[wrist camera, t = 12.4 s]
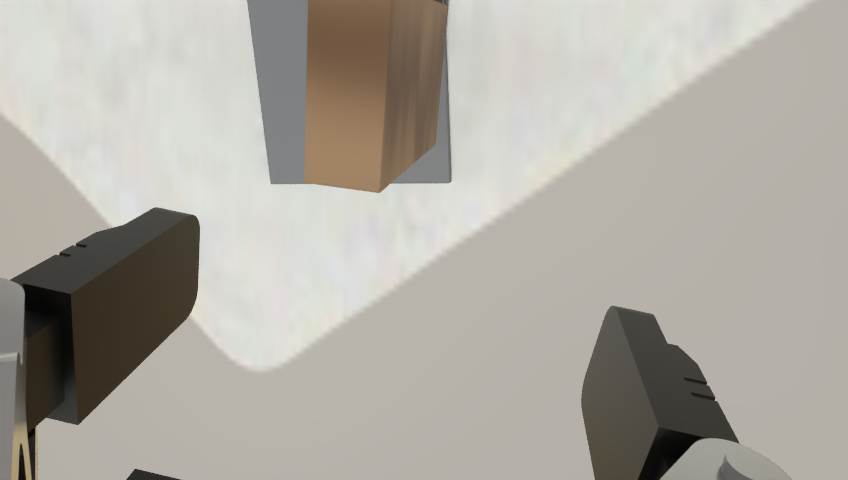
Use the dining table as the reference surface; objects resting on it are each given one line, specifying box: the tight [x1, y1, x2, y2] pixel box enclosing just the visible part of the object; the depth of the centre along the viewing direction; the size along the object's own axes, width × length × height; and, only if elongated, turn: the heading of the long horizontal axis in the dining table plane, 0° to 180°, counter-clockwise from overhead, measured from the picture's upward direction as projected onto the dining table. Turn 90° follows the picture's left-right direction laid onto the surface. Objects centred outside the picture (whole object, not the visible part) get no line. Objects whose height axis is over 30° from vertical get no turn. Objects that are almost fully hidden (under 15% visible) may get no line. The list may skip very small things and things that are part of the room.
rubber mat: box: [247, 0, 451, 184], centre depth 28 cm, size 9×10×1 cm
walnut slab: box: [304, 0, 448, 193], centre depth 23 cm, size 6×2×10 cm, turn 175°
